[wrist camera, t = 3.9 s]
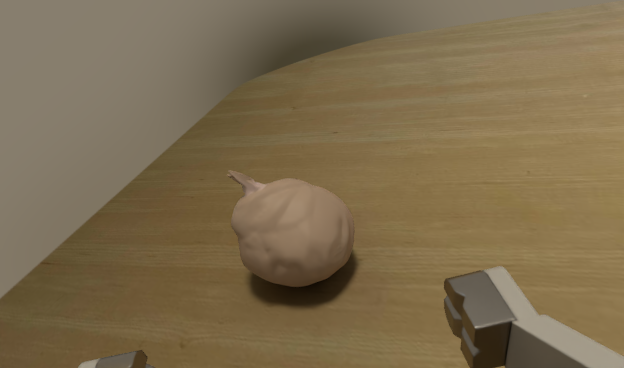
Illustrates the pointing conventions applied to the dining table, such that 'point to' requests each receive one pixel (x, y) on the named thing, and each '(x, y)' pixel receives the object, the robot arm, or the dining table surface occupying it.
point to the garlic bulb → (291, 230)
